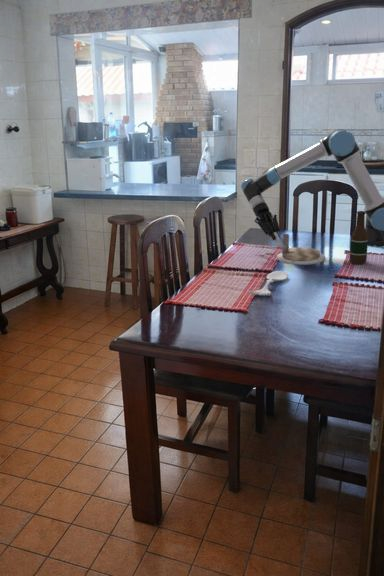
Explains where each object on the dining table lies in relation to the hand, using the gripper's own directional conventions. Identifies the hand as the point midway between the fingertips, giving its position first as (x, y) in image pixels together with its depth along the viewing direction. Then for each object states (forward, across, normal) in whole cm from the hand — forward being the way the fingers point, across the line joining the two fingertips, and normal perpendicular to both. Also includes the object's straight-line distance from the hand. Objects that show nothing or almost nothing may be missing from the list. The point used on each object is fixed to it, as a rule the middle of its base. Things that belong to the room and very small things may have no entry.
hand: (279, 244), depth 252 cm
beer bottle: (+25, -23, +16) cm, 38 cm away
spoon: (+29, +32, +19) cm, 47 cm away
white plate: (+10, -7, +1) cm, 12 cm away
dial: (+9, -7, +2) cm, 12 cm away
